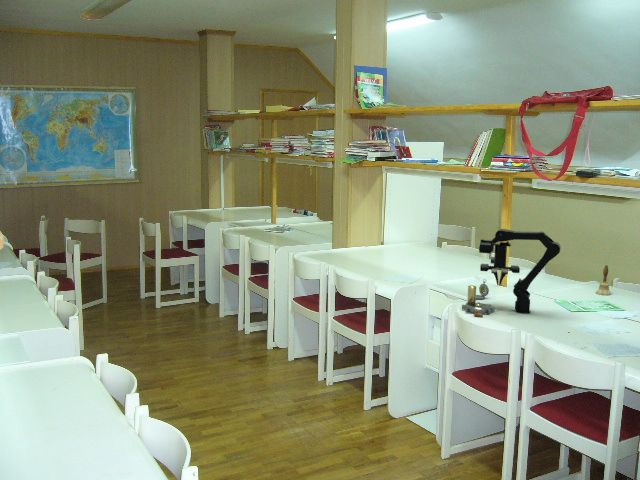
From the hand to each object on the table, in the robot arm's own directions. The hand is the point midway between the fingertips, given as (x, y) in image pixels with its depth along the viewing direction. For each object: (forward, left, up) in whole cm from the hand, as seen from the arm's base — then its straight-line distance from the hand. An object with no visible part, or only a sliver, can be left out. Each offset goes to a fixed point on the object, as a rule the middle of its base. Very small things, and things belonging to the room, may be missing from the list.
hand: (498, 285), depth 333 cm
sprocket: (+9, +8, -12) cm, 17 cm away
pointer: (+9, +18, -12) cm, 24 cm away
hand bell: (-59, -50, -12) cm, 78 cm away
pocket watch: (+8, -20, -12) cm, 25 cm away
